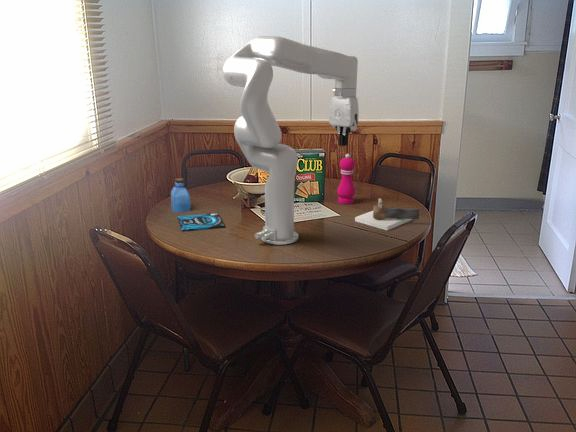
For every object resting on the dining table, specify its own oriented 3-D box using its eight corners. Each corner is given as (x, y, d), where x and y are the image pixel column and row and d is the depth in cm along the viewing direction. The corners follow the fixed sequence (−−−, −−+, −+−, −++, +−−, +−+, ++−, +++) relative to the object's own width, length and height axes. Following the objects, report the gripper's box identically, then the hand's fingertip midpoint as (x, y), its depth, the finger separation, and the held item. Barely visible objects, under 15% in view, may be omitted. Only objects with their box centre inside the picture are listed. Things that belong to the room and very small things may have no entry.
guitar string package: (225, 225, 188) (182, 229, 184) (225, 229, 189) (182, 233, 185) (218, 212, 202) (177, 216, 198) (218, 215, 202) (177, 219, 198)
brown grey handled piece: (373, 218, 193) (374, 201, 191) (372, 215, 197) (373, 198, 195) (419, 220, 191) (420, 203, 189) (417, 216, 195) (419, 199, 193)
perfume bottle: (190, 210, 206) (189, 180, 203) (174, 212, 204) (172, 182, 200) (187, 206, 212) (185, 176, 208) (171, 207, 210) (169, 178, 206)
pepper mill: (354, 199, 222) (356, 152, 215) (354, 205, 215) (357, 156, 208) (336, 199, 222) (338, 151, 216) (336, 204, 215) (338, 155, 209)
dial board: (388, 230, 187) (388, 226, 186) (354, 221, 196) (355, 216, 196) (413, 220, 198) (413, 215, 197) (380, 211, 207) (380, 207, 207)
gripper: (321, 92, 189) (320, 143, 195) (355, 95, 179) (353, 149, 185) (335, 90, 194) (333, 141, 200) (369, 94, 184) (366, 146, 190)
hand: (343, 145), depth 192 cm, fingers closed
